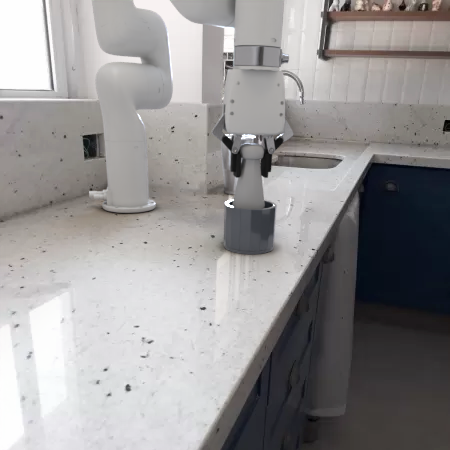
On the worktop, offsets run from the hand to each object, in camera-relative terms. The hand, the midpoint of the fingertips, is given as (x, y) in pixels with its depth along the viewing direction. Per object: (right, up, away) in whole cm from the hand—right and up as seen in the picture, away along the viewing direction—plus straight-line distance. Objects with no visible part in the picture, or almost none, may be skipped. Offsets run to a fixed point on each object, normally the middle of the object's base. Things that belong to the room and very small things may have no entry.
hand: (250, 175), depth 85 cm
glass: (-1, +8, +52) cm, 53 cm away
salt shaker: (0, -7, +3) cm, 8 cm away
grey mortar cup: (0, -12, +5) cm, 13 cm away
